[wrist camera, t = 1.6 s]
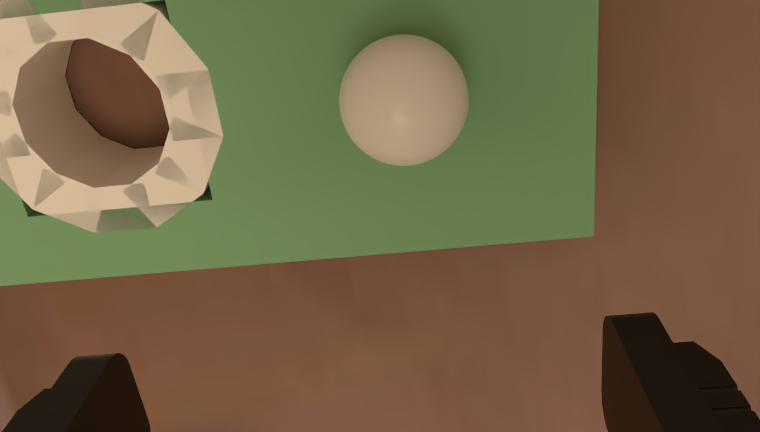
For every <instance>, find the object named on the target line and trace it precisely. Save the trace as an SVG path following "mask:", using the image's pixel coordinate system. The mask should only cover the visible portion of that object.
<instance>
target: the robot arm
mask: <svg viewBox="0 0 760 432" xmlns="http://www.w3.org/2000/svg"><path fill="white" fill-rule="evenodd" d="M602 405H603V412H604V418H605V422H606V426H607V430H608V432H760V420H759V418H758V416H757V415H756V413H755V412H754V411H751V406H750V404H749V403H748V401H747V400H746V398H745V397H744V395H743V394H742V392H741V391H740V390H739V391H738V389H737V385H736V383H735V382H734V380H733V378H732V377H731V375H730V374H729V372H728V371H727V369H726V368H725V366H724V365H723V363H722V362H721V361H720V360H719V359H717V358H716V357H715V356H713V355H712V354H710V353H709V352H708V351H706V350H705V349H704V348H702V347H701V346H699V345H698V344H697V343H695V342H694V341H692V342H679V343H673V342H672V340H671V339H670V337H669V335H668V333H667V332H666V330H665V328H664V326H663V325H662V323H661V321H660V320H659V318H658V316H657V315H656V314H655V313H653V312H652V313H639V314H626V315H614V316H606V317H605V319H604V322H603V347H602ZM2 432H151V431H150V424H149V421H148V418H147V415H146V412H145V409H144V406H143V403H142V400H141V397H140V394H139V391H138V388H137V385H136V382H135V379H134V376H133V373H132V370H131V367H130V365H129V362H128V360H127V358H126V357H125V356H124V355H123V354H120V353H116V354H104V355H91V356H78V357H75V358H73V359H72V360H71V361H70V362H69V364H68V365H67V367H66V368H65V369H64V371H63V372H62V374H61V375H60V377H59V378H58V379H57V381H56V382H55V384H54V385H53V387H52V388H50V389H44V390H43V391H41V392H40V393H39V394H38V395H36V396H35V397H34V398H33V399H32V400H30V401H29V402H28V403H27V404H25V405H24V406H23V407H22V408H20V409H19V410H18V411H17V412H16V413H15V415H14V416H13V418H12V419H11V420H10V422H9V423H8V424H7V426H6V427H5V428H4V430H3V431H2Z"/></svg>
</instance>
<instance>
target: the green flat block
mask: <svg viewBox="0 0 760 432" xmlns="http://www.w3.org/2000/svg"><path fill="white" fill-rule="evenodd" d="M598 19H599V0H0V286H6V285H18V284H30V283H42V282H54V281H66V280H78V279H90V278H102V277H114V276H126V275H138V274H149V273H161V272H173V271H185V270H197V269H209V268H221V267H233V266H245V265H257V264H269V263H281V262H293V261H305V260H317V259H329V258H341V257H353V256H365V255H377V254H389V253H401V252H412V251H424V250H436V249H448V248H460V247H472V246H484V245H496V244H508V243H520V242H532V241H544V240H556V239H568V238H580V237H592V236H594V214H595V166H596V117H597V68H598ZM401 34H408V35H416V36H421V37H424V38H427V39H430V40H432V41H434V42H436V43H437V44H439V45H441V46H442V47H443V48H445V49H446V50H447V51H448V52H449V53H450V54H451V55H452V56H453V57H454V59H455V60H456V61H457V63H458V64H459V66H460V68H461V69H462V71H463V74H464V76H465V78H466V82H467V86H468V93H469V107H468V114H467V117H466V121H465V123H464V126H463V128H462V130H461V132H460V134H459V136H458V137H457V139H456V140H455V141H454V142H453V144H452V145H451V146H450V147H449V148H448V149H447V150H446V151H444V152H443V153H442V154H440V155H439V156H437V157H435V158H434V159H432V160H429V161H427V162H425V163H421V164H418V165H412V166H395V165H390V164H386V163H383V162H380V161H378V160H376V159H374V158H372V157H370V156H369V155H367V154H366V153H364V152H363V151H362V150H361V149H360V148H358V147H357V145H356V144H355V143H354V142H353V141H352V139H351V138H350V136H349V135H348V133H347V131H346V129H345V127H344V124H343V122H342V119H341V115H340V110H339V92H340V86H341V82H342V79H343V76H344V74H345V72H346V70H347V68H348V66H349V65H350V63H351V62H352V60H353V59H354V58H355V57H356V55H357V54H358V53H359V52H360V51H362V50H363V49H364V48H365V47H366V46H368V45H370V44H371V43H373V42H375V41H377V40H379V39H381V38H385V37H388V36H393V35H401ZM83 38H90V39H92V40H95V41H97V42H99V43H102V44H104V45H107V46H109V47H111V48H114V49H116V50H119V51H121V52H123V53H126V54H128V55H130V56H131V57H132V58H133V59H134V60H135V62H136V63H137V64H138V65H139V66H140V67H141V68H142V70H143V71H144V72H145V73H146V74H147V75H148V76H149V77H150V79H151V80H152V81H153V82H154V83H155V84H156V85H157V87H158V88H159V89H160V92H161V96H162V100H163V104H164V108H165V112H166V116H167V120H168V124H169V127H170V129H169V132H168V136H167V139H166V142H165V145H164V146H160V147H150V148H139V149H132V148H130V147H127V146H125V145H122V144H120V143H117V142H115V141H112V140H110V139H107V138H105V137H102V136H100V135H99V133H98V132H97V131H96V130H95V129H94V128H93V127H92V126H91V125H90V124H89V123H88V122H87V121H86V120H85V119H84V118H83V117H82V115H81V114H80V113H79V112H78V111H77V110H76V109H75V106H74V103H73V99H72V96H71V93H70V90H69V87H68V83H67V80H66V77H65V73H66V68H67V64H68V60H69V56H70V51H71V47H72V43H73V42H74V41H75V40H76V39H83Z"/></svg>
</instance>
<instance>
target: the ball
mask: <svg viewBox="0 0 760 432" xmlns="http://www.w3.org/2000/svg"><path fill="white" fill-rule="evenodd" d="M468 107H469V93H468V86H467V82H466V78H465V76H464V74H463V71H462V69H461V68H460V66H459V64H458V63H457V61H456V60H455V59H454V57H453V56H452V55H451V54H450V53H449V52H448V51H447V50H446V49H445V48H443V47H442V46H441V45H439V44H437V43H436V42H434V41H432V40H430V39H427V38H424V37H421V36H416V35H408V34H401V35H393V36H388V37H385V38H381V39H379V40H377V41H375V42H373V43H371V44H370V45H368V46H366V47H365V48H364V49H363V50H362V51H360V52H359V53H358V54H357V55H356V57H355V58H354V59H353V60H352V62H351V63H350V65H349V66H348V68H347V70H346V72H345V74H344V76H343V79H342V82H341V86H340V92H339V110H340V115H341V119H342V122H343V124H344V127H345V129H346V131H347V133H348V135H349V136H350V138H351V139H352V141H353V142H354V143H355V144H356V145H357V147H358V148H360V149H361V150H362V151H363V152H364V153H366V154H367V155H369V156H370V157H372V158H374V159H376V160H378V161H380V162H383V163H386V164H390V165H395V166H412V165H418V164H421V163H425V162H427V161H429V160H432V159H434V158H435V157H437V156H439V155H440V154H442V153H443V152H444V151H446V150H447V149H448V148H449V147H450V146H451V145H452V144H453V142H454V141H455V140H456V139H457V137H458V136H459V134H460V132H461V130H462V128H463V126H464V123H465V121H466V117H467V114H468Z"/></svg>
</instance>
